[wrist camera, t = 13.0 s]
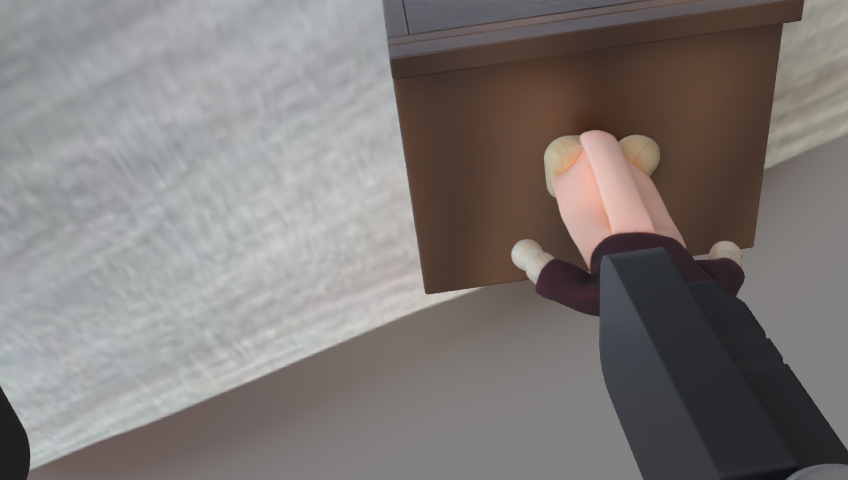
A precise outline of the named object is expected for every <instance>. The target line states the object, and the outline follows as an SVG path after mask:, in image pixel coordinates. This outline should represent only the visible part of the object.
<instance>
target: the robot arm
mask: <svg viewBox="0 0 848 480" xmlns="http://www.w3.org/2000/svg"><path fill="white" fill-rule="evenodd" d="M599 341H600V342H599V344H600V345H599V346H600V359H601V365H602V371H603V375H604V379H605V383H606V387H607V390H608V393H609V395H610V398H611V400H612V403H613V405H614V408H615V410H616V413H617V415H618V418H619V420H620V423H621V425H622V428H623V430H624V433H625V435H626V438H627V440H628V442H629V445H630V447H631V450H632V452H633V455H634V457H635V460H636V462H637V465H638V467H639V470H640V472H641V475H642V477H643V480H848V451H847V449H846V448H845V446H844V445H843V443H842V442H841V441H840V439H839V438H838V436H837V435H836V433H835V432H834V431H833V429H832V428H831V426H830V425H829V423H828V422H827V420H826V419H825V417H824V416H823V415H822V413H821V412H820V410H819V409H818V407H817V406H816V405H815V404H814V402H813V400H812V399H811V397H810V396H809V395H808V393H807V392H806V390H805V389H804V387H803V386H802V384H801V383H800V382H799V380H798V379H797V377H796V376H795V374H794V373H793V371H792V370H791V369H790V367H789V366H788V364H784V363H783V357H782V356H781V354H780V353H779V351H778V350H777V348H776V347H775V346H774V344H773V343H772V341H771V340H770V339H767V338H766V335H765V331H764V330H763V328H762V327H761V326H760V324H759V323H758V321H757V320H756V319H755V317H754V315H753V314H752V312H751V311H750V310H749V308H748V307H747V305H746V304H745V303H744V302H743V301H741V300H740V299H738V298H737V297H736V296H734V295H733V294H731V293H730V292H728V291H727V290H725V289H724V288H722V287H721V286H719V285H718V284H716V283H715V282H713V281H712V280H705V281H698V282H692V283H686V281H685V279H684V278H683V276H682V274H681V273H680V271H679V270H678V268H677V266H676V265H675V263H674V262H673V260H672V258H671V257H670V255H669V254H668V252H667V251H666V250H665V249H664V248H663V247H656V248H650V249H643V250H636V251H629V252H623V253H616V254H609V255H604V256H603V258H602V261H601V268H600V339H599ZM29 467H30V447H29V441H28V437H27V434H26V432H25V429H24V427H23V426H22V424H21V422H20V420H19V418H18V417H17V415H16V413H15V411H14V410H13V408H12V406H11V404H10V403H9V401H8V399H7V397H6V395H5V394H4V392H3V390H2V388H1V387H0V480H26V479H27V476H28V472H29Z"/></svg>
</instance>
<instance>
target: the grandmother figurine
mask: <svg viewBox="0 0 848 480" xmlns="http://www.w3.org/2000/svg"><path fill="white" fill-rule="evenodd" d="M659 161H660V149H659V146H658V145H657V143H656V142H655V141H654V140H653V139H651V138H649V137H646V136H642V135H630V136H627V137H625V138H623V139H621V140H620V141H619V142H618V141H617V140H616V138H615V137H614V136H613V135H611V134H609V133H607V132H604V131H600V130H592V131H589V132H585V133H583V134H582V135H581V136H580V135H567V136H562V137H559V138H557V139H556V140H554V141H553V142H552V143H551V144H550V145H549V146H548V148H547V149H546V151H545V155H544V165H545V175H546V186H547V189H548V192H549V193H550V194H551V195H552V196H553V197H555V198H556V199H557V202H558V206H559V210H560V214H561V217H562V219H563V221H564V223H565V225H566V227H567V229H568V232H569V234H570V236H571V237H572V239H573V241H574V242H575V244H576V245H577V247H578V249H579V251H580V253H581V254H582V256H583V258H584V260H585V262H586V264H587V266H588V268H589V271H590V272H591V274H589V273H588V272H586V271H584V270H583V269H581V268H579V267H578V266H576V265H573V264H571V263H568V262H566V261H563V260H560V259H556V258H554V257H553V256H552V255H550V254H549V253H546V252H543V250H542V248H541V246H540V245H539V244H538V243H537V242H535V241H533V240H531V239H523V240H521V241H519V242H518V243H516V244H515V246H514V247H513V249H512V252H511V257H512V261H513V262H514V264H515V265H516V266H517V267H518V268H520V269H522V270H524V271H526V274H527V276H528V278H529V279H530V280H532V282H534V283H535V284H536V292H537V293H538V294H539V295H541V296H543V297H545V298H547V299H550V300H553V301H556V302H558V303H560V304H563V305H565V306H567V307H570V308H572V309H574V310H576V311H579V312H582V313H585V314H589V315H593V316H599V317H600V268H601V261H602V258H603V256H604V255H609V254H616V253H623V252H629V251H636V250H643V249H650V248H656V247H663V248H664V249H665V250H666V251H667V252H668V254H669V255H670V257H671V258H672V260H673V262H674V263H675V265H676V266H677V268H678V270H679V271H680V273H681V274H682V276H683V278H684V279H685V281H686V283H692V282H698V281H705V280H712V281H713V282H715V283H716V284H718V285H719V286H721V287H722V288H724V289H725V290H727V291H728V292H730V293H731V294H733V295H734V296H736V295H737V293H738V291H739V289H740V288H741V286H742V284H743V282H744V278H745V276H744V272H743V270H742V266H741V257H742V255H741V251H740V249H739V247H738V246H737V245H736V244H734V243H733V242H730V241H720V242H718V243H716V244H715V245H714V246H713V247H712V248H711V250H710V253H709V260H696V261H695V260H694V259H693V257H692V256H691V255H690V253H689V252H688V250H687V249H686V245H685V243H684V240H683V238H682V236H681V234H680V233H679V231H678V229H677V227H676V226H675V224H674V222H673V221H672V219H671V217H670V215H669V214H668V211H667V209H666V207H665V205H664V203H663V201H662V198H661V196H660V194H659V192H658V190H657V189H656V187H655V185H654V183H653V182H652V180H651V179H650V175H651V174H652V173H653V171H654V170H655V169H656V167H657V165H658V164H659Z"/></svg>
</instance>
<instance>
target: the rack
mask: <svg viewBox="0 0 848 480" xmlns="http://www.w3.org/2000/svg"><path fill="white" fill-rule="evenodd" d="M382 1H383V9H384V17H385V26H386V34H387V42H388V51H389V59H390V66H391V72H392V78H393V83H394V90H395V96H396V103H397V109H398V116H399V123H400V129H401V136H402V143H403V149H404V156H405V162H406V169H407V176H408V182H409V189H410V196H411V202H412V209H413V215H414V222H415V229H416V235H417V242H418V249H419V255H420V262H421V268H422V275H423V282H424V288H425V293H426V294H434V293H441V292H448V291H455V290H462V289H469V288H475V287H482V286H489V285H496V284H503V283H510V282H516V281H524V280H530V279H529V278H528V276H527V274H526V271H524V270H522V269H520V268H518V267H517V266H516V265H515V264H514V262H513V261H512V257H511V252H512V249H513V247H514V246H515V244H516V243H518V242H519V241H521V240H523V239H531V240H533V241H535V242H537V243H538V244H539V245H540V246H541V248H542V250H543V252H546V253H549V254H550V255H552V256H553V257H554V258H556V259H560V260H563V261H566V262H568V263H571V264H573V265H576V266H578V267H579V268H581V269H583V270H584V271H589V268H588V266H587V264H586V262H585V260H584V258H583V256H582V254H581V253H580V251H579V249H578V247H577V245H576V244H575V242H574V241H573V239H572V237H571V236H570V234H569V232H568V229H567V227H566V225H565V223H564V221H563V219H562V217H561V214H560V210H559V206H558V202H557V199H556V198H555V197H553V196H552V195H551V194H550V193H549V192H548V189H547V186H546V175H545V165H544V155H545V151H546V149H547V148H548V146H549V145H550V144H551V143H552V142H553V141H554V140H556V139H557V138H559V137H562V136H567V135H580V136H581V135H582V134H583V133H585V132H589V131H592V130H600V131H604V132H607V133H609V134H611V135H613V136H614V137H615V138H616V140H617V141H618V142H619V141H620V140H621V139H623V138H625V137H627V136H630V135H642V136H646V137H649V138H651V139H653V140H654V141H655V142H656V143H657V145H658V146H659V149H660V161H659V164H658V165H657V167H656V169H655V170H654V171H653V173H652V174H651V175H650V179H651V180H652V182H653V183H654V185H655V187H656V189H657V190H658V192H659V194H660V196H661V198H662V201H663V203H664V205H665V207H666V209H667V211H668V214H669V215H670V217H671V219H672V221H673V222H674V224H675V226H676V227H677V229H678V231H679V233H680V234H681V236H682V238H683V240H684V243H685V245H686V249H687V250H688V252H689V253H690V255H691V256H696V255H703V254H709V253H710V250H711V248H712V247H713V246H714V245H715V244H716V243H718V242H720V241H730V242H733V243H734V244H736V245H737V246H738V247H739V249H744V248H751V247H753V246H754V238H755V230H756V223H757V216H758V208H759V201H760V193H761V186H762V177H763V171H764V163H765V156H766V148H767V141H768V133H769V126H770V118H771V111H772V103H773V95H774V88H775V80H776V73H777V65H778V58H779V50H780V43H781V35H782V28H783V23H788V22H795V21H800V20H801V19H802V13H803V6H804V0H382Z"/></svg>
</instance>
